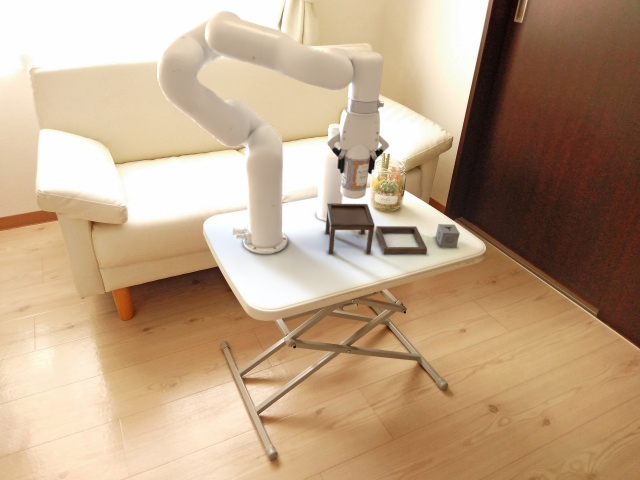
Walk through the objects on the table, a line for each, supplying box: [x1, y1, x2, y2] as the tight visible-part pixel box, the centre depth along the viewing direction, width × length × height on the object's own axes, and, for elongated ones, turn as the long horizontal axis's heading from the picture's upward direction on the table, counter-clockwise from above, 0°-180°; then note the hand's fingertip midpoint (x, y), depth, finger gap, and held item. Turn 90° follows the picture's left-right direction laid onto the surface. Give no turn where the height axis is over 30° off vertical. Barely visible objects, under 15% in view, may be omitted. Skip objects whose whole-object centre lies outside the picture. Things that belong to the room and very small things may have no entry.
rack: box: [324, 203, 428, 256], centre depth 132 cm, size 28×12×10 cm, turn 95°
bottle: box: [316, 123, 344, 222], centre depth 139 cm, size 8×8×30 cm
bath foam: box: [341, 145, 371, 200], centre depth 120 cm, size 7×7×20 cm
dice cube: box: [434, 223, 461, 249], centre depth 135 cm, size 5×5×5 cm
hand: (355, 171), depth 122 cm, fingers closed on bath foam, 7 cm apart
